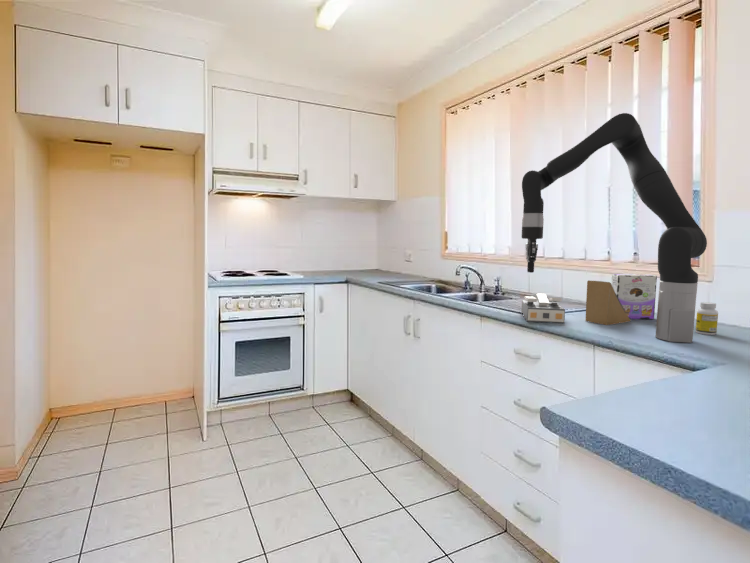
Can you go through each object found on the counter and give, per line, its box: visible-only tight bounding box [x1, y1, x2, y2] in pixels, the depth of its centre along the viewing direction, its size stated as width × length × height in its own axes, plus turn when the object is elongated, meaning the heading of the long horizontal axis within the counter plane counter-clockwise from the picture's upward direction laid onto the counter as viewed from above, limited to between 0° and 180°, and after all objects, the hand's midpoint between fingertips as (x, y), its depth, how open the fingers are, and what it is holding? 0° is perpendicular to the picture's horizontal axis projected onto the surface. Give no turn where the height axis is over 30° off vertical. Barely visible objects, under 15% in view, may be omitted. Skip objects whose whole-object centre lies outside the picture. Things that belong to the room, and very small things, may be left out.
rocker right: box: [547, 297, 563, 303], centre depth 163 cm, size 9×3×1 cm, turn 168°
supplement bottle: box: [695, 301, 719, 336], centre depth 141 cm, size 5×5×10 cm
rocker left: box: [524, 295, 538, 302], centre depth 165 cm, size 9×3×1 cm, turn 168°
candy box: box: [611, 273, 658, 320], centre depth 167 cm, size 14×6×16 cm, turn 84°
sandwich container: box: [585, 280, 631, 326], centre depth 159 cm, size 9×15×15 cm, turn 122°
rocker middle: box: [535, 293, 549, 306], centre depth 164 cm, size 9×3×1 cm, turn 167°
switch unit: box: [520, 299, 566, 324], centre depth 164 cm, size 19×12×6 cm, turn 168°
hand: (530, 272), depth 167 cm, fingers closed
